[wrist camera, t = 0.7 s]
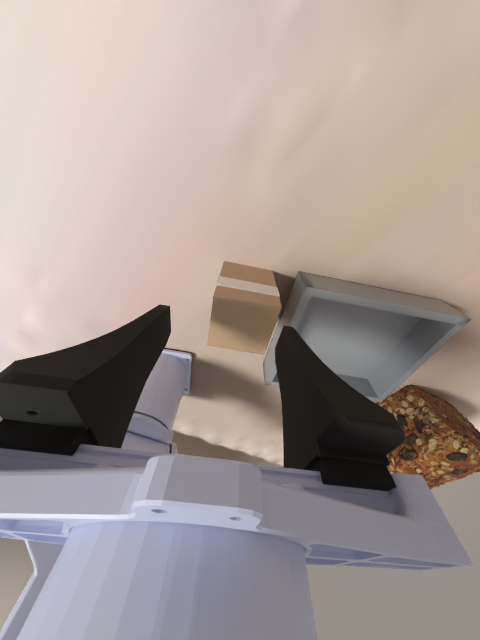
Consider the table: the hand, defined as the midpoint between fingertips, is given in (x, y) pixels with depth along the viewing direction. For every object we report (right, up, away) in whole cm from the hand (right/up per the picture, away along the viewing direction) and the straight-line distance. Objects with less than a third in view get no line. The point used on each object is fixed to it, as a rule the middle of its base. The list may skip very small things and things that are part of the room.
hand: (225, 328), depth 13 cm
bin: (+13, -2, +12) cm, 18 cm away
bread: (+26, -17, +23) cm, 38 cm away
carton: (+1, +4, +9) cm, 10 cm away
